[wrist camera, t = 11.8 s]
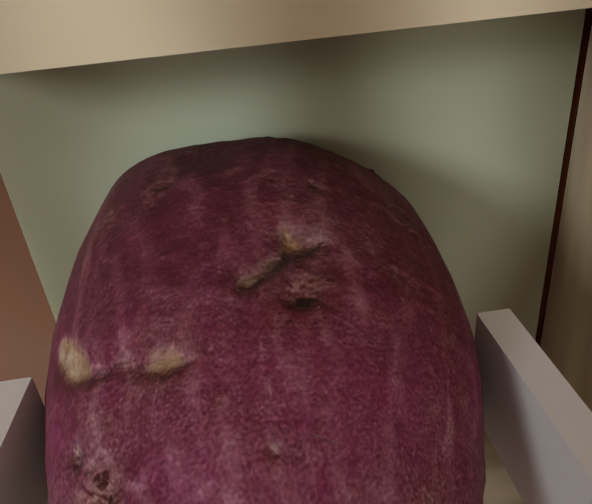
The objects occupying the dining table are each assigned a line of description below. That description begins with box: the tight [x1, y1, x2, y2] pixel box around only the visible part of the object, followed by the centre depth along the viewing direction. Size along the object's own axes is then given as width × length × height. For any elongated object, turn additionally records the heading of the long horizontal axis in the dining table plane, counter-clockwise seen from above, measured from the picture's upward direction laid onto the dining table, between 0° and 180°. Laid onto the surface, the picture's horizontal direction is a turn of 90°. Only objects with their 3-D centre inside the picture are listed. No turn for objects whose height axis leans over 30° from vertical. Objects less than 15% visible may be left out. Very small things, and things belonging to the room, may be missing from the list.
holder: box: [0, 0, 592, 504], centre depth 15 cm, size 17×17×4 cm
